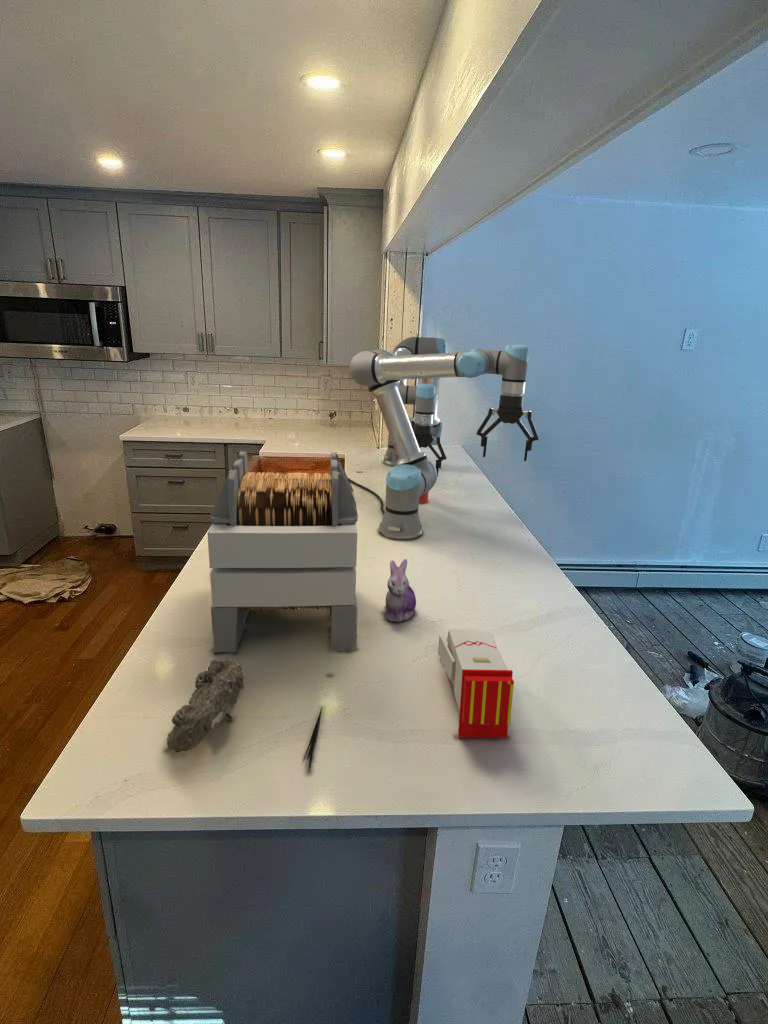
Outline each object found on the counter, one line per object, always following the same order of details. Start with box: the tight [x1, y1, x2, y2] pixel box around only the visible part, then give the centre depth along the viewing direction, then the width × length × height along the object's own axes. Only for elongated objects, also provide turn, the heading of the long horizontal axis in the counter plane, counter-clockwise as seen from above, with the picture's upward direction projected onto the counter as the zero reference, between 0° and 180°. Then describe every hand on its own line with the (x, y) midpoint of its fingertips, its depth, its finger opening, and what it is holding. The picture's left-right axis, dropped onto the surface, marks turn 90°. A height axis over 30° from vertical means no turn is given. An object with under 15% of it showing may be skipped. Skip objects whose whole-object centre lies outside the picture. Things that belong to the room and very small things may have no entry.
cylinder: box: [419, 490, 430, 505], centre depth 233 cm, size 8×8×13 cm
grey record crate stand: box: [206, 450, 359, 654], centre depth 137 cm, size 34×33×41 cm
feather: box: [301, 673, 332, 771], centre depth 108 cm, size 2×28×2 cm
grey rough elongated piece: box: [166, 658, 245, 754], centre depth 106 cm, size 22×10×15 cm
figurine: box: [384, 558, 417, 623], centre depth 145 cm, size 9×10×15 cm
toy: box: [437, 628, 515, 738], centre depth 117 cm, size 12×13×30 cm
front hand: (504, 458), depth 191 cm, fingers open, 13 cm apart
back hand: (420, 475), depth 231 cm, fingers open, 13 cm apart
